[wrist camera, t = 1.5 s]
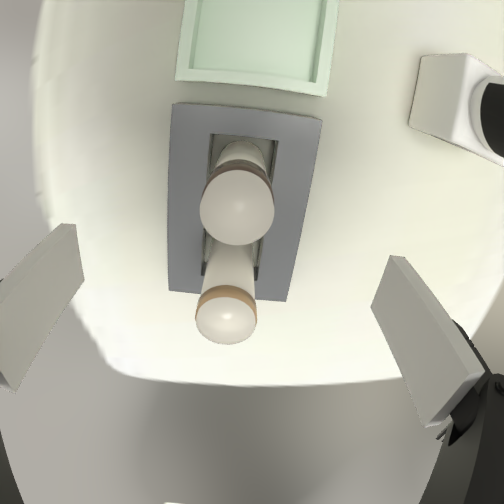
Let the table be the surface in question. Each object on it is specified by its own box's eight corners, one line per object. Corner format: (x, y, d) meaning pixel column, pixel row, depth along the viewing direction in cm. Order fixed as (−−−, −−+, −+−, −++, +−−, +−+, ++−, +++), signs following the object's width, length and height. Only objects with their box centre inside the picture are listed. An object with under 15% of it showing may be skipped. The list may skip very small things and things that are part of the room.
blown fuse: (220, 137, 26) (200, 170, 15) (267, 142, 26) (281, 179, 16) (215, 182, 28) (196, 243, 17) (261, 186, 28) (270, 250, 18)
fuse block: (179, 102, 24) (172, 104, 22) (316, 117, 25) (322, 120, 23) (173, 276, 33) (168, 290, 31) (283, 287, 34) (285, 301, 32)
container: (462, 148, 26) (548, 191, 14) (406, 126, 25) (495, 160, 14) (476, 84, 22) (567, 102, 11) (420, 54, 21) (514, 51, 10)
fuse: (212, 219, 30) (194, 296, 19) (256, 224, 30) (261, 302, 20) (210, 257, 32) (194, 342, 21) (251, 261, 32) (252, 347, 22)
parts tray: (202, -52, 16) (198, -63, 14) (336, -36, 17) (343, -45, 15) (181, 81, 23) (174, 80, 21) (319, 96, 24) (326, 97, 22)
